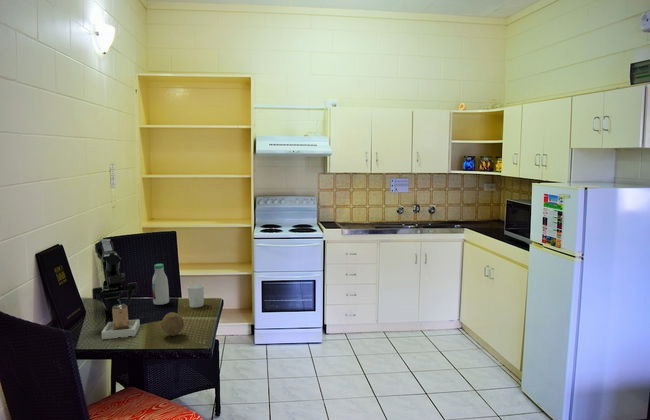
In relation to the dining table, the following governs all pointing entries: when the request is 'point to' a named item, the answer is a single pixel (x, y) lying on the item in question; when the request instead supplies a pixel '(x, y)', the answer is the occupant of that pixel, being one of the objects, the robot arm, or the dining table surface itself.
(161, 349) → the dining table surface
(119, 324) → the spout can
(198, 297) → the white cup
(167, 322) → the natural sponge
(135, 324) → the tray
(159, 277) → the milk bottle
